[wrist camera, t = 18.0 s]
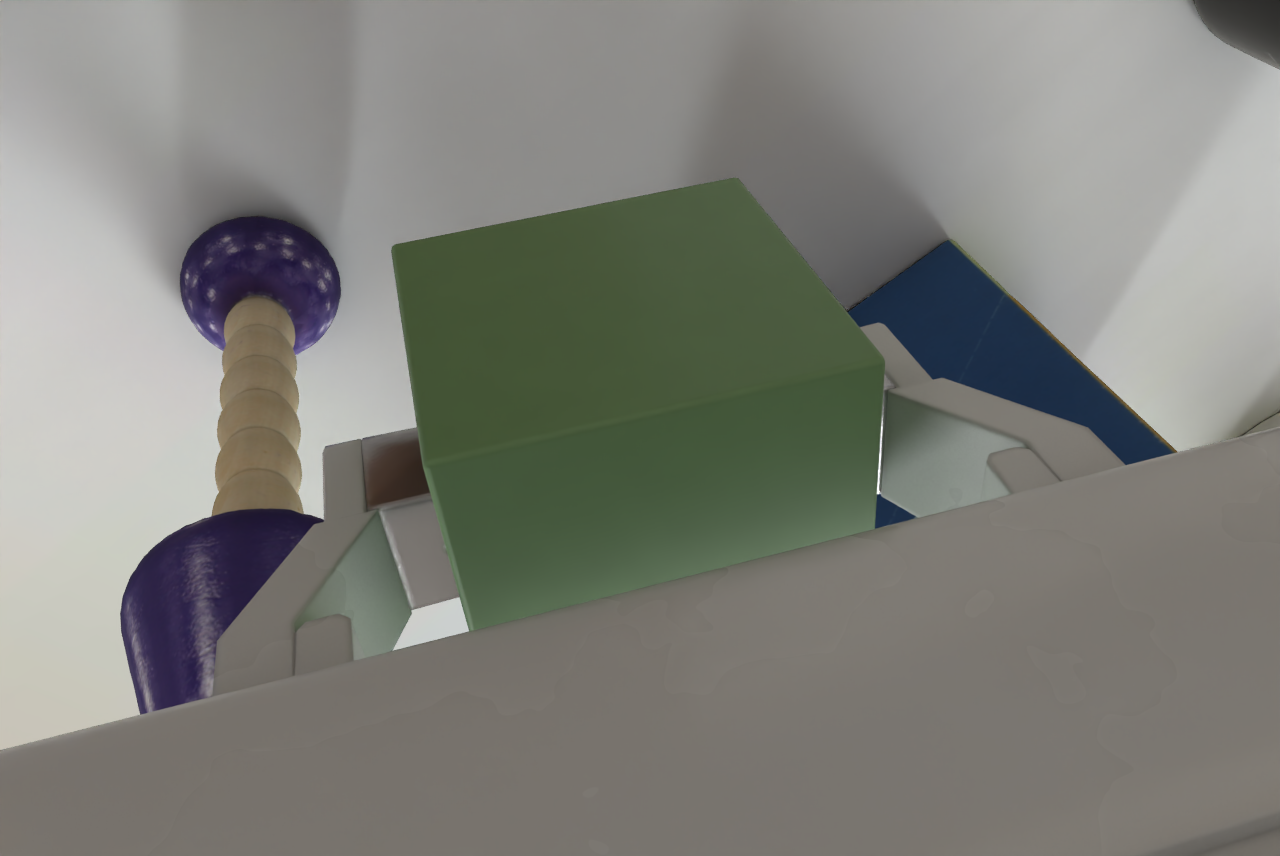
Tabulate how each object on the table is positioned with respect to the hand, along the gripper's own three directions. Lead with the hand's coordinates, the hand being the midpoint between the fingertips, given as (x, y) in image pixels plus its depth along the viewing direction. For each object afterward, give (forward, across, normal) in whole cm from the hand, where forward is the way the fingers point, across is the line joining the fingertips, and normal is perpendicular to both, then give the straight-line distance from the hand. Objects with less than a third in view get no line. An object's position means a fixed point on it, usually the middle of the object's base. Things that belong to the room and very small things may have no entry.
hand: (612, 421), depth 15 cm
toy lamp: (+16, +6, +5) cm, 18 cm away
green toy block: (+2, 0, 0) cm, 2 cm away
